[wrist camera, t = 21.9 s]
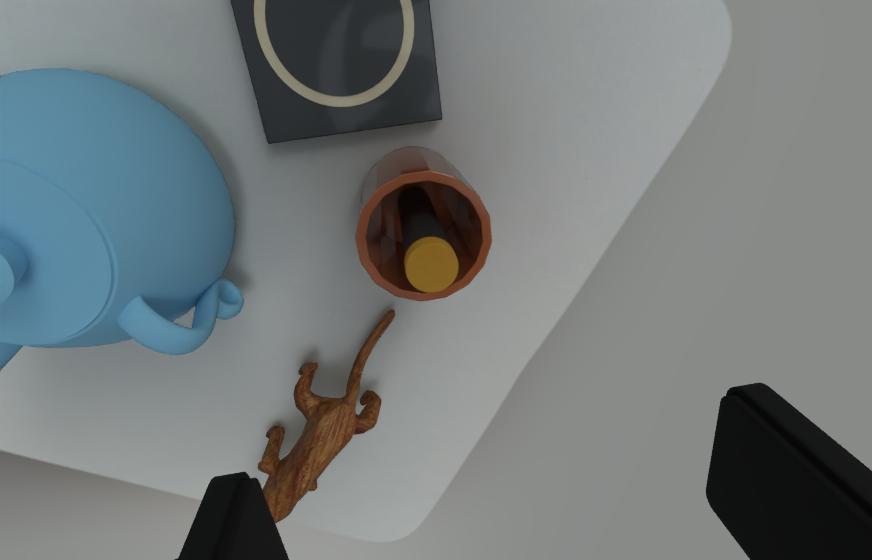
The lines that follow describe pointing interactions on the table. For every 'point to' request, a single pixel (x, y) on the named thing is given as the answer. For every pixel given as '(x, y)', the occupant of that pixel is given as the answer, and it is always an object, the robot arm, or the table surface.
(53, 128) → the teapot
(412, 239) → the marker
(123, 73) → the table surface
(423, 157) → the pen cup
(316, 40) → the slate
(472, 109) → the table surface
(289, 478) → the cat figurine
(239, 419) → the table surface
